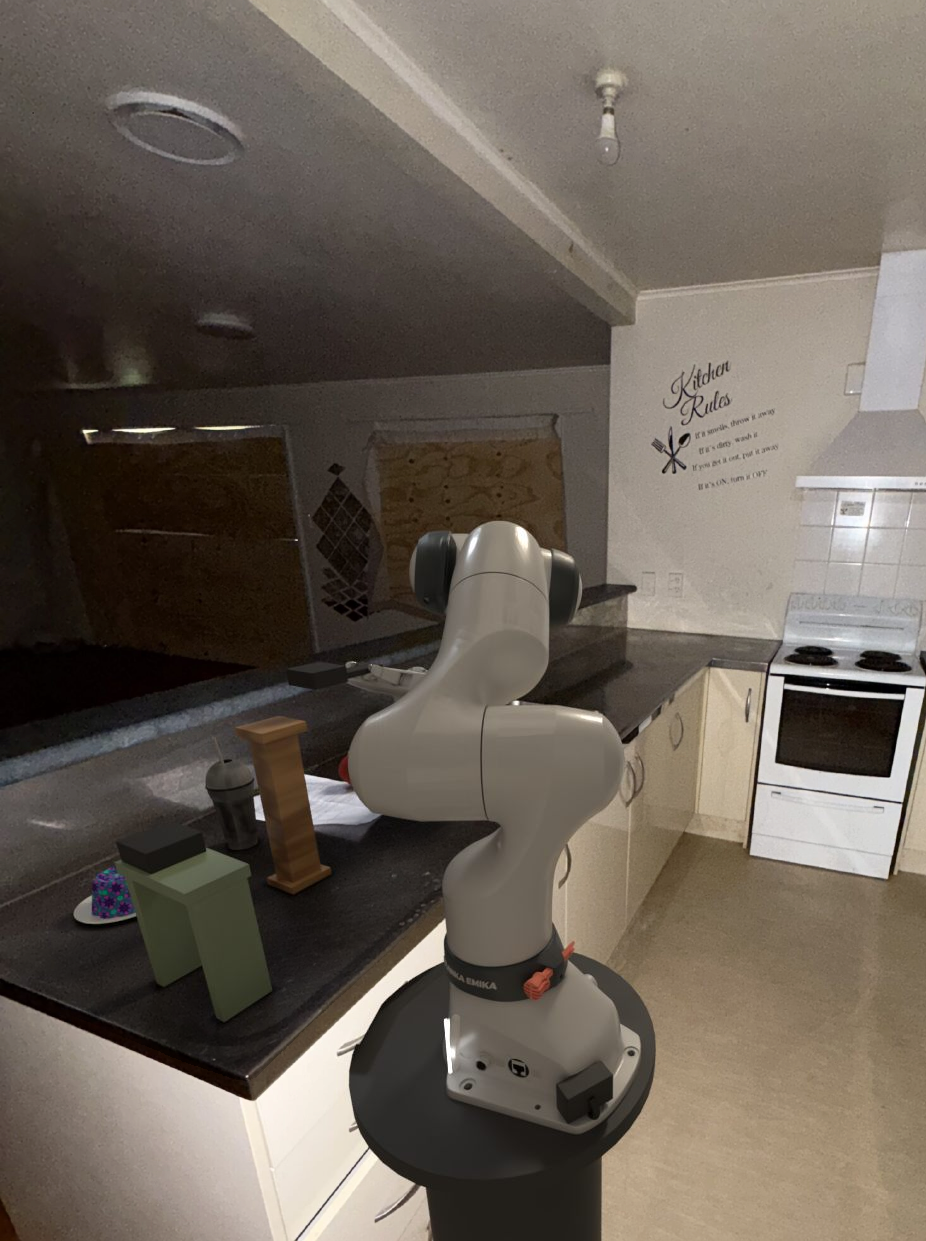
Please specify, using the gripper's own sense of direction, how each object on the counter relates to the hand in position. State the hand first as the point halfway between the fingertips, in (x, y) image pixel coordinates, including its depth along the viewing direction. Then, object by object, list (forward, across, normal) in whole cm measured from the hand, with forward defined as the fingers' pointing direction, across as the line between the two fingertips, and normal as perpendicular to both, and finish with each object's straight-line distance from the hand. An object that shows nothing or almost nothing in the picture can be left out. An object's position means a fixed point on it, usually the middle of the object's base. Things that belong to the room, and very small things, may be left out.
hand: (361, 667), depth 103 cm
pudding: (+14, -16, +44) cm, 49 cm away
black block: (+27, +10, +31) cm, 42 cm away
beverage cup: (-3, -19, +34) cm, 39 cm away
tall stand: (0, 0, +35) cm, 35 cm away
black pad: (+3, 0, +3) cm, 4 cm away
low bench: (+18, +13, +46) cm, 51 cm away
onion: (-27, -23, +20) cm, 41 cm away
